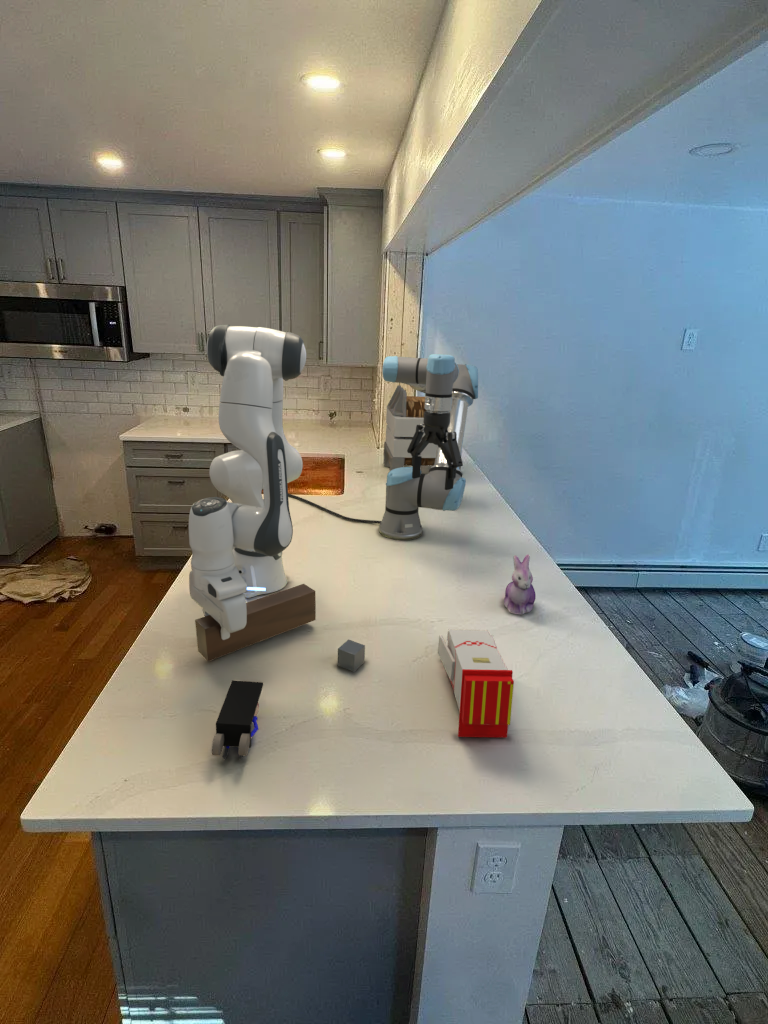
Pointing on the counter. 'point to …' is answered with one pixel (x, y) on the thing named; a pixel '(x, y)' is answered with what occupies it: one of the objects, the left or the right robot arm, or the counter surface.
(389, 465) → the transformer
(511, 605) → the figurine
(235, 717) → the black wheeled block
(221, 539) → the left robot arm
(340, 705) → the counter surface
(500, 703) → the toy
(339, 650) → the slate block
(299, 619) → the walnut plank
